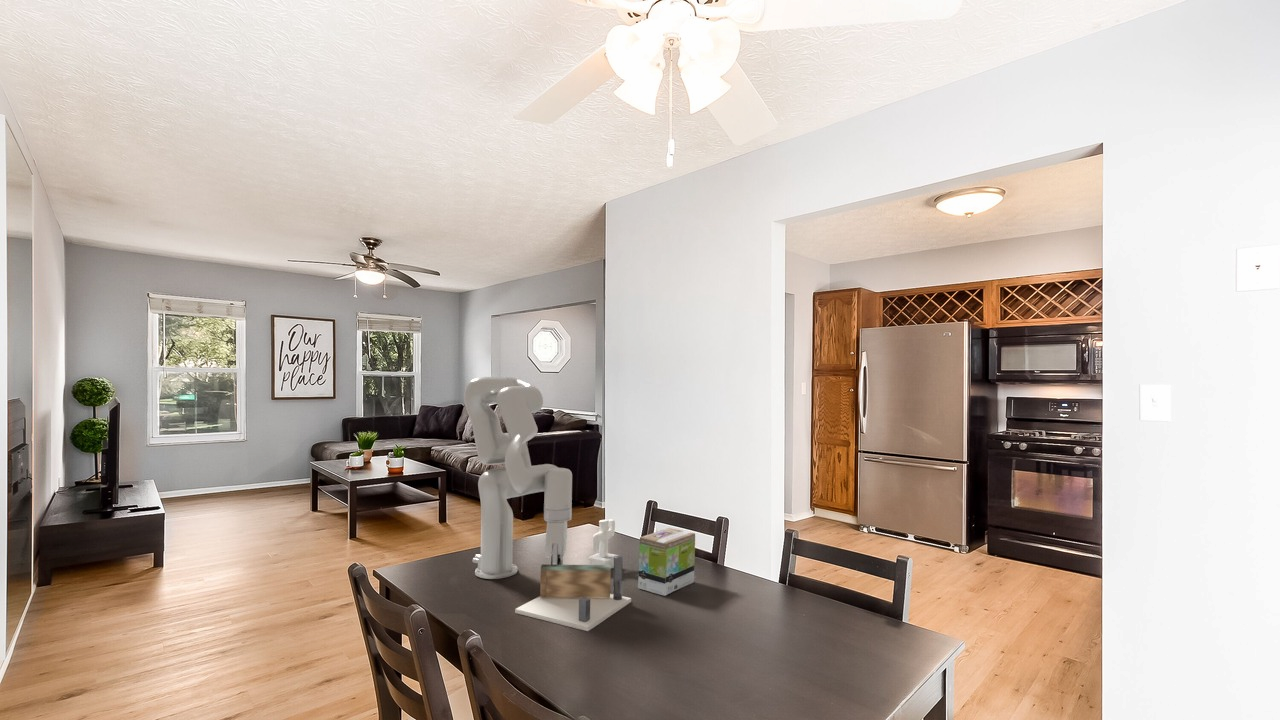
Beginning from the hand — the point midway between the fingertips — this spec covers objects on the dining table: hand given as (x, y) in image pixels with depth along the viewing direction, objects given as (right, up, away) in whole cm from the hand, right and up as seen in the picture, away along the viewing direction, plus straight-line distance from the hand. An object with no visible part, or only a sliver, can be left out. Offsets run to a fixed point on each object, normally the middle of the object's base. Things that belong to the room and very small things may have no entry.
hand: (556, 581), depth 163 cm
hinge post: (+13, -4, -11) cm, 18 cm away
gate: (+6, -2, -4) cm, 7 cm away
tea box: (+31, -5, +9) cm, 32 cm away
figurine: (+11, -5, +24) cm, 27 cm away
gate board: (+6, -4, -8) cm, 11 cm away
